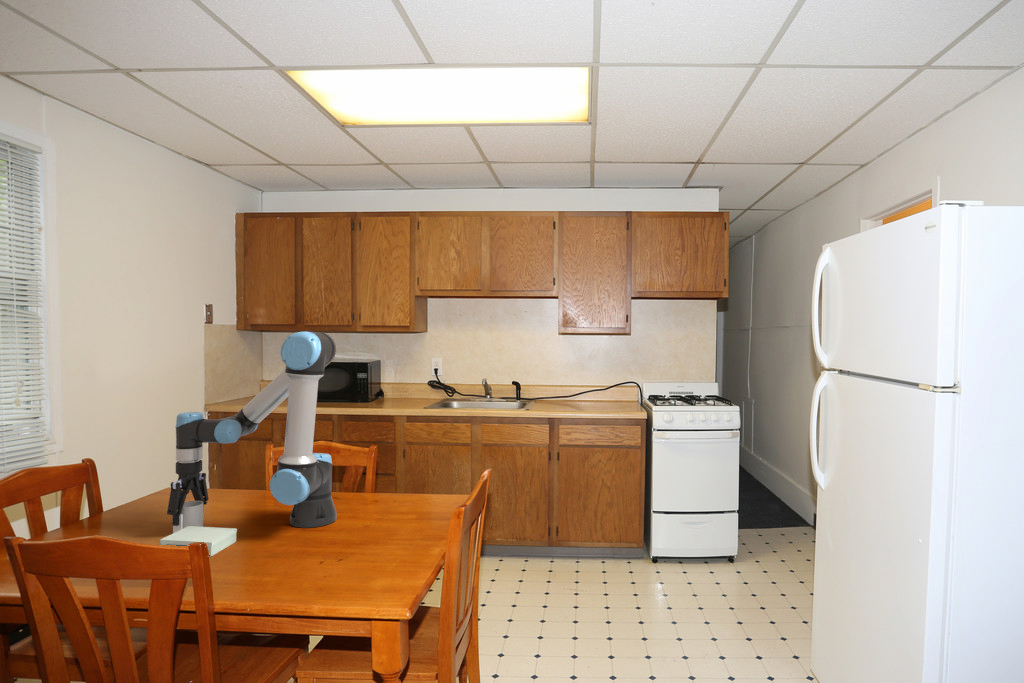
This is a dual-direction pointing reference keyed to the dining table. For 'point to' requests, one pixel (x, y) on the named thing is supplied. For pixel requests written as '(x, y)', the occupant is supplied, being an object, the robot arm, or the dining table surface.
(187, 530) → the pale green flat block
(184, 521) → the cup
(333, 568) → the dining table surface
